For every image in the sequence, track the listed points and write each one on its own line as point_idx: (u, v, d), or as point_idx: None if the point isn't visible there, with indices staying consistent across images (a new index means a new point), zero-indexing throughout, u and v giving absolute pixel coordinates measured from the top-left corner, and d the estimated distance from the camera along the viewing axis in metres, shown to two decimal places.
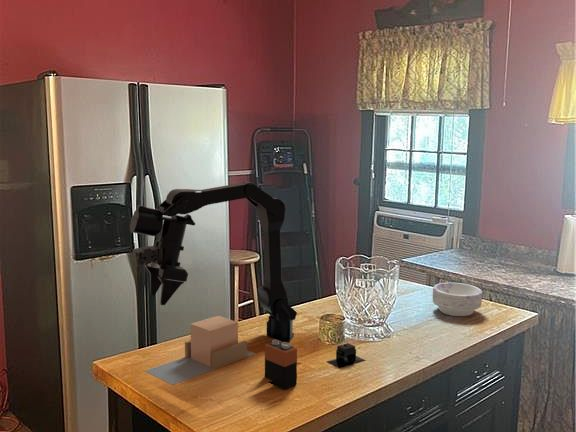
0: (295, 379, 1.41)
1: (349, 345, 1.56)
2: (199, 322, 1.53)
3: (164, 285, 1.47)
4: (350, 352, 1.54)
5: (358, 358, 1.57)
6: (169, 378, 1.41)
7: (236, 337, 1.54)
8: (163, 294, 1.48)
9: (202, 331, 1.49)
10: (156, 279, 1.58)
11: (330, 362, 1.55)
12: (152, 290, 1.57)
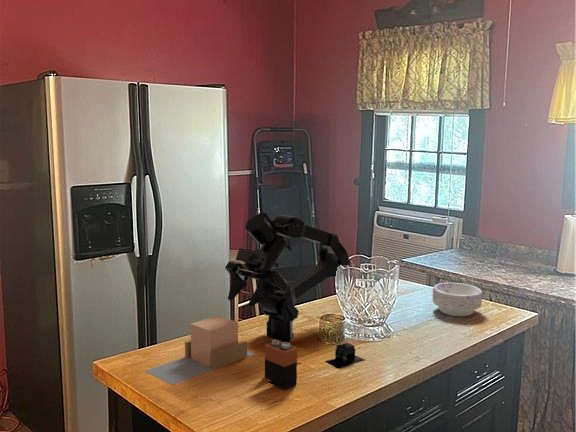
0: (295, 379, 1.41)
1: (348, 344, 1.56)
2: (199, 322, 1.53)
3: (262, 288, 1.56)
4: (349, 351, 1.55)
5: (357, 357, 1.58)
6: (169, 378, 1.41)
7: (236, 337, 1.54)
8: (256, 296, 1.56)
9: (202, 331, 1.49)
10: (237, 287, 1.63)
11: (329, 361, 1.55)
12: (231, 295, 1.61)
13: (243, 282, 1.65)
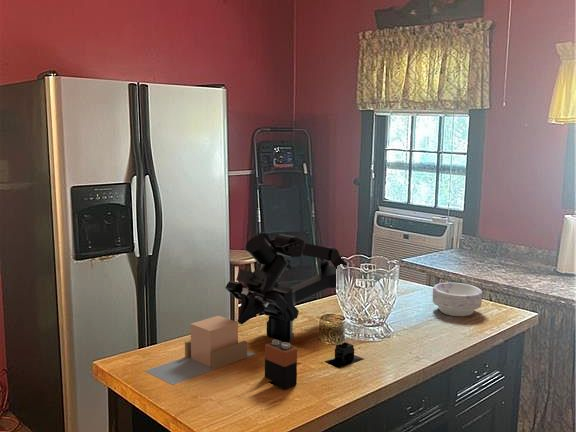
0: (295, 379, 1.41)
1: (347, 344, 1.57)
2: (199, 322, 1.53)
3: (252, 305, 1.59)
4: (349, 351, 1.55)
5: (356, 357, 1.58)
6: (169, 378, 1.41)
7: (236, 337, 1.54)
8: (246, 313, 1.59)
9: (202, 331, 1.49)
10: None
11: (329, 361, 1.55)
12: None
13: None
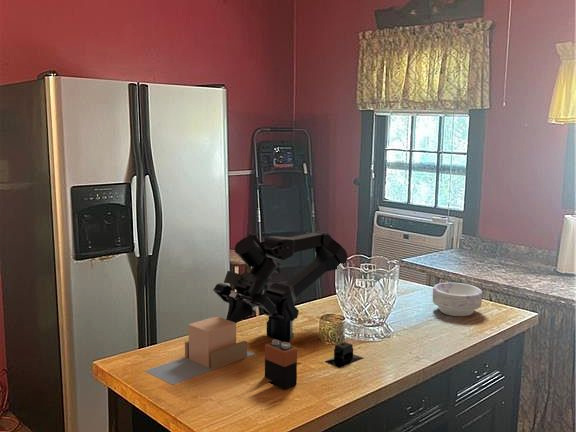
0: (295, 379, 1.41)
1: (346, 343, 1.57)
2: (197, 323, 1.53)
3: (240, 308, 1.56)
4: (348, 351, 1.55)
5: (354, 356, 1.59)
6: (169, 378, 1.41)
7: (234, 338, 1.53)
8: (234, 317, 1.56)
9: (200, 332, 1.48)
10: None
11: (329, 362, 1.55)
12: None
13: None
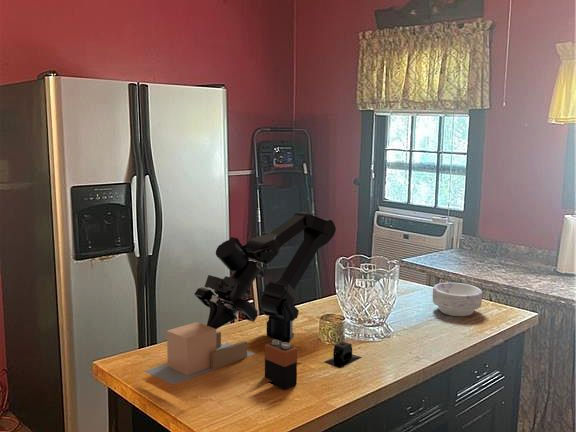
0: (295, 379, 1.41)
1: (345, 343, 1.57)
2: (176, 329, 1.48)
3: (221, 314, 1.51)
4: (347, 350, 1.56)
5: (353, 356, 1.59)
6: (169, 378, 1.41)
7: (214, 344, 1.49)
8: (215, 322, 1.51)
9: (179, 338, 1.44)
10: None
11: (328, 362, 1.55)
12: None
13: None
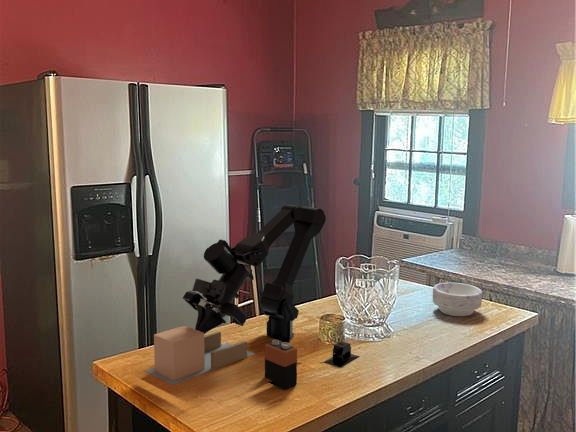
0: (295, 379, 1.41)
1: (344, 342, 1.57)
2: (163, 333, 1.45)
3: (209, 318, 1.49)
4: (347, 350, 1.56)
5: (351, 355, 1.59)
6: (169, 378, 1.41)
7: (202, 348, 1.46)
8: (203, 326, 1.49)
9: (166, 343, 1.41)
10: None
11: (328, 362, 1.55)
12: None
13: None
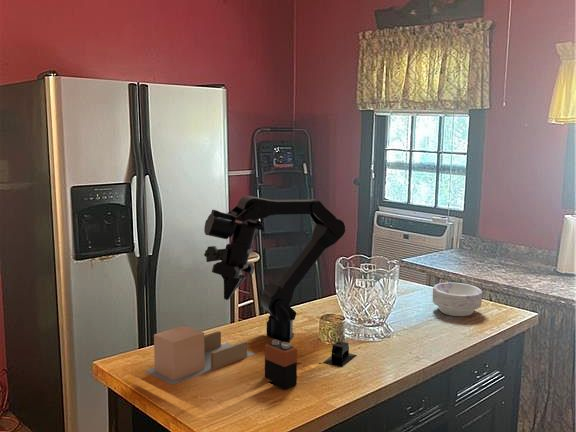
0: (295, 379, 1.41)
1: (342, 342, 1.58)
2: (163, 333, 1.45)
3: (224, 280, 1.61)
4: (345, 349, 1.56)
5: (348, 354, 1.60)
6: (169, 378, 1.41)
7: (202, 348, 1.46)
8: (225, 289, 1.62)
9: (166, 343, 1.41)
10: None
11: (328, 362, 1.55)
12: None
13: (238, 277, 1.63)
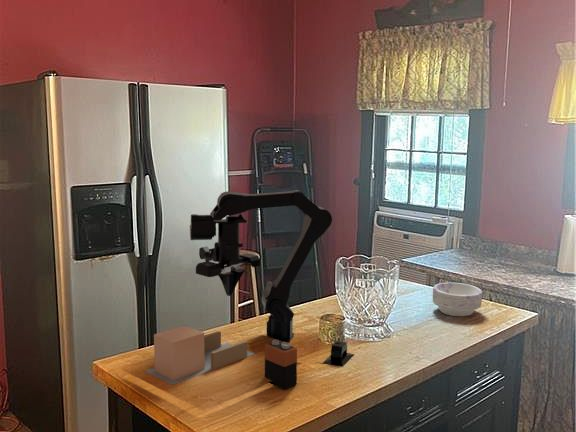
0: (295, 379, 1.41)
1: (340, 342, 1.58)
2: (163, 333, 1.45)
3: (220, 277, 1.65)
4: (344, 349, 1.57)
5: (346, 353, 1.60)
6: (169, 378, 1.41)
7: (202, 348, 1.46)
8: (223, 285, 1.66)
9: (166, 343, 1.41)
10: None
11: (328, 362, 1.54)
12: None
13: (234, 272, 1.65)
